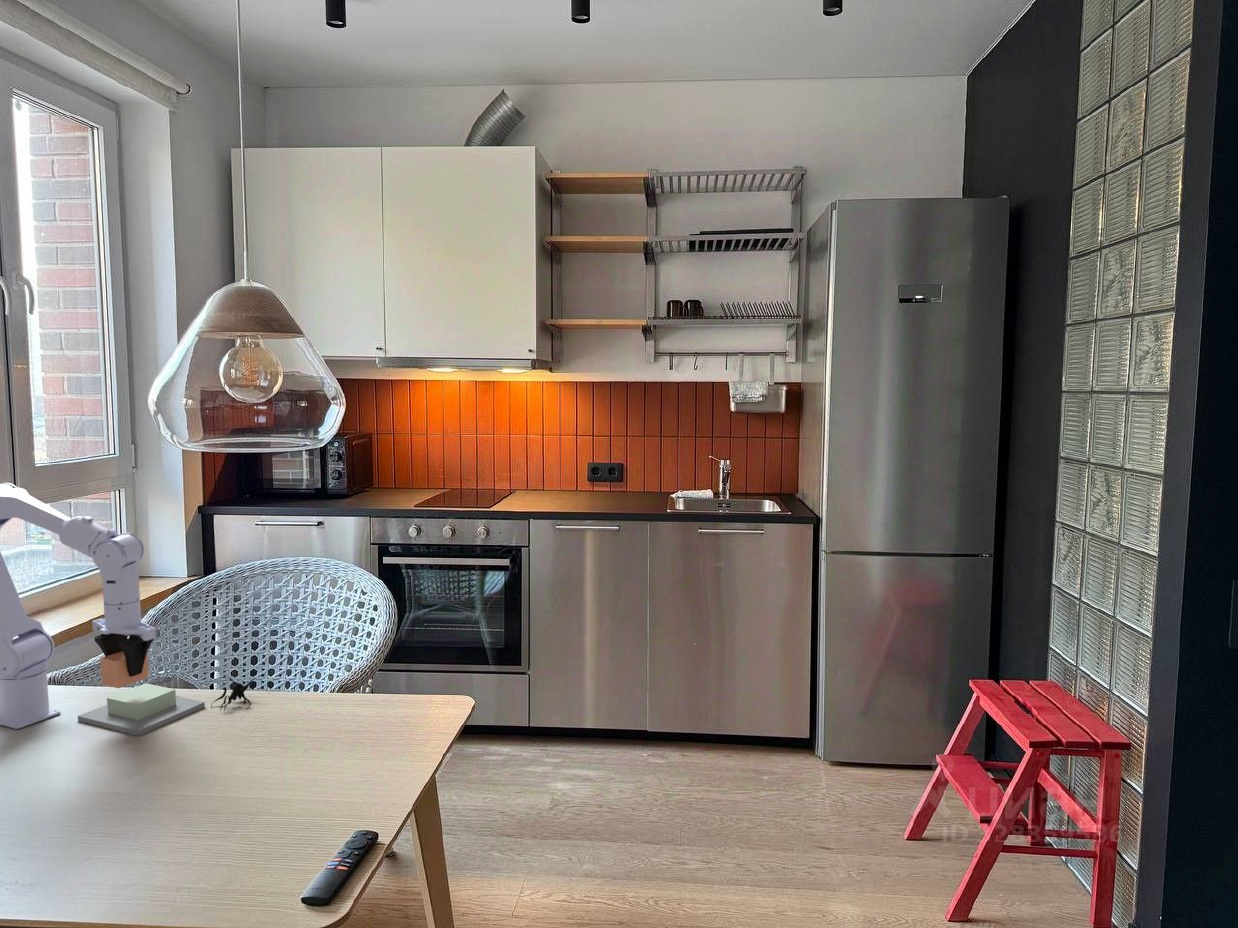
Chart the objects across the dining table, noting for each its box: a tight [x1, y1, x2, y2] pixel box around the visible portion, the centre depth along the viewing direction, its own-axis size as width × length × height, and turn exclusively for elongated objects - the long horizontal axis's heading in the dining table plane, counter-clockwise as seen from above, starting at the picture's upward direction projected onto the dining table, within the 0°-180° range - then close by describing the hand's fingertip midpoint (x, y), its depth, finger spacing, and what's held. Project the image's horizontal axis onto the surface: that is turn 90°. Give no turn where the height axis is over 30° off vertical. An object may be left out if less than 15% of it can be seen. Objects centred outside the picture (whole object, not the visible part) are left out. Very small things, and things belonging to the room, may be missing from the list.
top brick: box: [100, 651, 150, 689], centre depth 152 cm, size 4×6×5 cm
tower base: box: [77, 682, 206, 737], centre depth 156 cm, size 16×14×4 cm
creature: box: [210, 675, 258, 712], centre depth 160 cm, size 8×5×8 cm
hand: (126, 672), depth 152 cm, fingers closed on top brick, 4 cm apart
